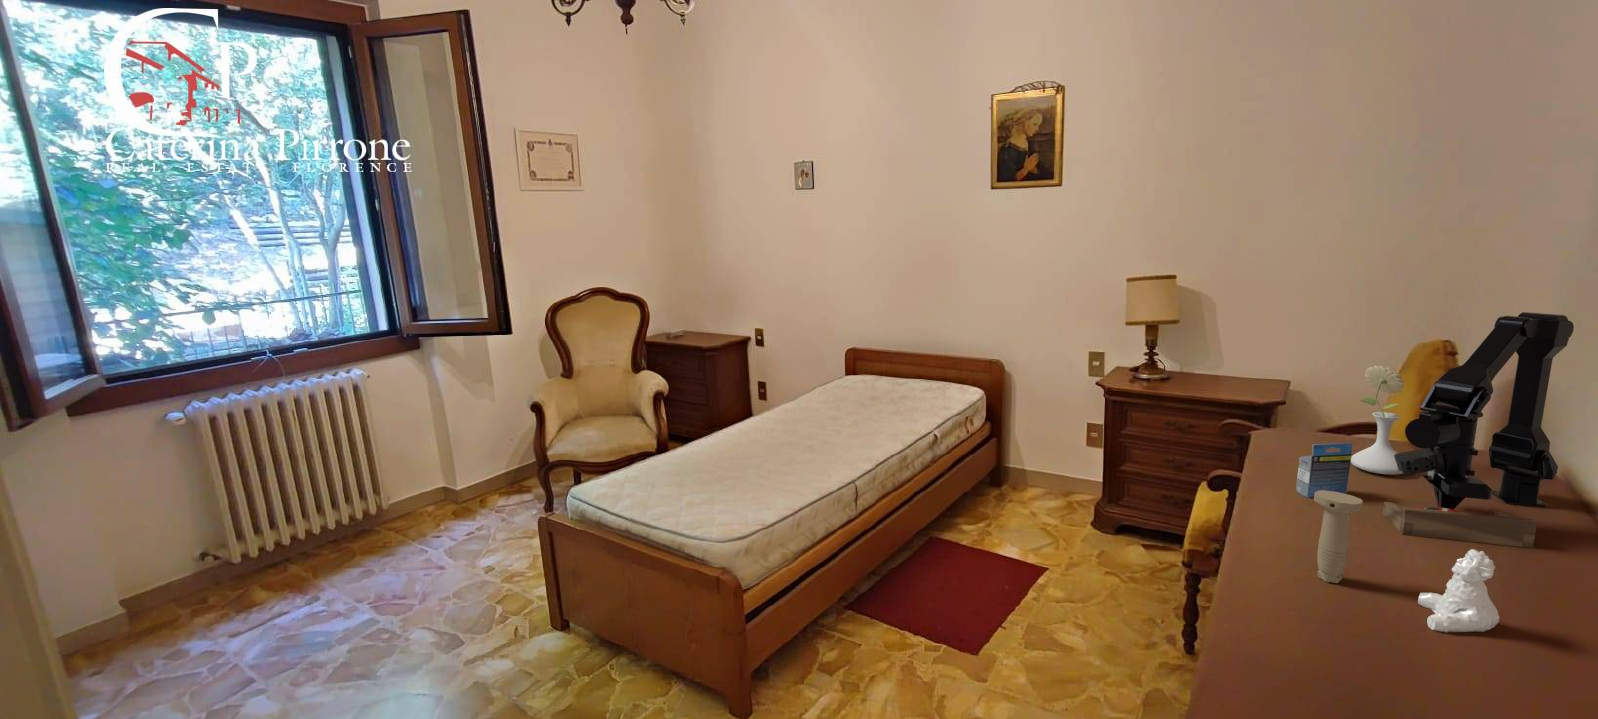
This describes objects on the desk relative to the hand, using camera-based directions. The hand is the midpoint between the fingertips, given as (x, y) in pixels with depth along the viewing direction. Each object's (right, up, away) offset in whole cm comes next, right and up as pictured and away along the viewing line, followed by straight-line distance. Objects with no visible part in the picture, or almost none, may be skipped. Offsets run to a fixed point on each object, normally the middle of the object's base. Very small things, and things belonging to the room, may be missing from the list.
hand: (1443, 515), depth 140 cm
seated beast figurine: (-28, -9, -33) cm, 44 cm away
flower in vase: (+10, +5, +28) cm, 30 cm away
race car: (-2, -2, -3) cm, 4 cm away
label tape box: (-13, +1, +16) cm, 20 cm away
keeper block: (-1, -2, -3) cm, 4 cm away
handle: (-38, -7, -20) cm, 43 cm away
